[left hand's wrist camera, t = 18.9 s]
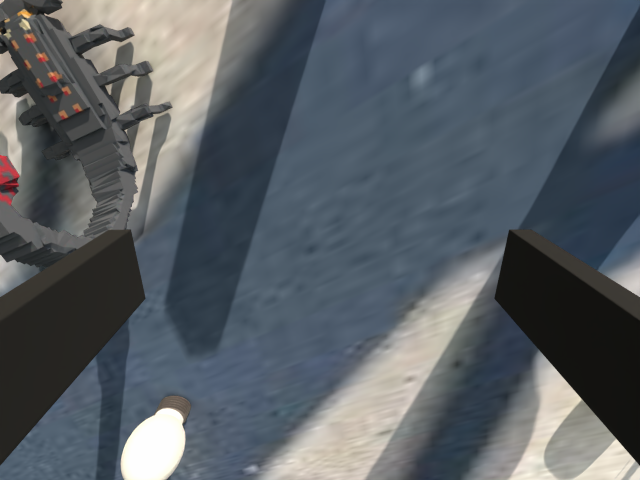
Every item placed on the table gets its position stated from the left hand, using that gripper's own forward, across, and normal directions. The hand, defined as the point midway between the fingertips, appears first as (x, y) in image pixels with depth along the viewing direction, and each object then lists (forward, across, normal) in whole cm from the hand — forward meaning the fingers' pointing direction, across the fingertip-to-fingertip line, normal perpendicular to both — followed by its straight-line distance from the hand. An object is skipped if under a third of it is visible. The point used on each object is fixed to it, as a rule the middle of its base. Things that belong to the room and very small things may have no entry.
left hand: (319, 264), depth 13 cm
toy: (+26, -22, +7) cm, 35 cm away
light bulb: (+26, -20, -34) cm, 47 cm away
